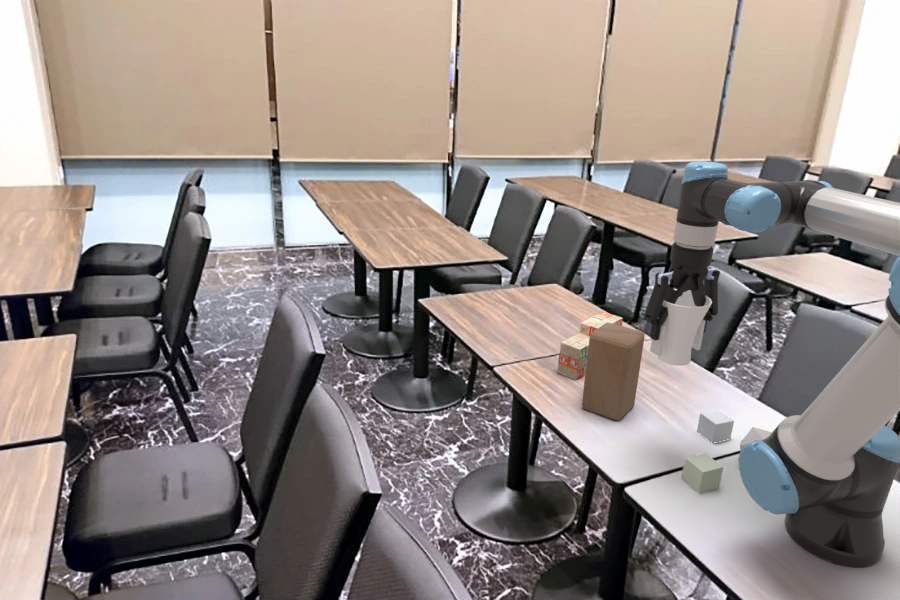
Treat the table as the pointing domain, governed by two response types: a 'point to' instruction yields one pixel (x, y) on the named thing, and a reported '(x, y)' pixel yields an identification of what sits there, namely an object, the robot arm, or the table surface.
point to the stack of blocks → (581, 346)
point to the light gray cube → (715, 426)
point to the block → (612, 370)
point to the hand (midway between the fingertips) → (675, 350)
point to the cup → (681, 328)
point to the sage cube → (702, 472)
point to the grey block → (754, 436)
